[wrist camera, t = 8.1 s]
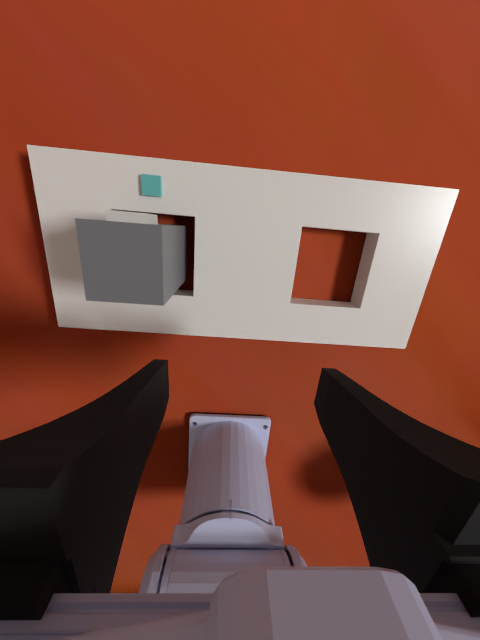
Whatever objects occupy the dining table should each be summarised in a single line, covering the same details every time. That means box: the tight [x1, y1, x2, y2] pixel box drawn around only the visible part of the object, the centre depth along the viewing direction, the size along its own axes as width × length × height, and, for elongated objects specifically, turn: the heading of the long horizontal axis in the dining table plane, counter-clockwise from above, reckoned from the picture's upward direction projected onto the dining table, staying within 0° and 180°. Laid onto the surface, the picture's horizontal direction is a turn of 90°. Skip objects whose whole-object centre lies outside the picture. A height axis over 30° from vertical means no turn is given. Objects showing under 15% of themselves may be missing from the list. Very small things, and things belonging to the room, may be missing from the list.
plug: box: [75, 210, 187, 306], centre depth 16 cm, size 4×4×8 cm
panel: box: [27, 145, 459, 349], centre depth 19 cm, size 12×28×2 cm, turn 85°
